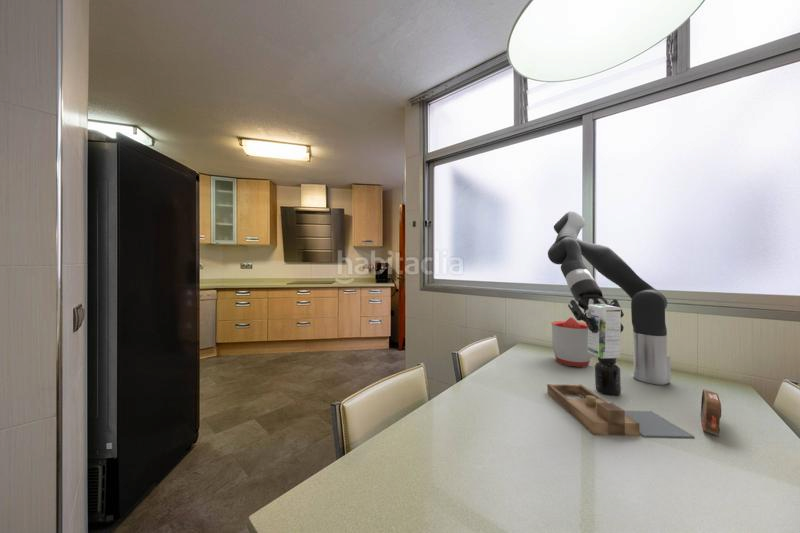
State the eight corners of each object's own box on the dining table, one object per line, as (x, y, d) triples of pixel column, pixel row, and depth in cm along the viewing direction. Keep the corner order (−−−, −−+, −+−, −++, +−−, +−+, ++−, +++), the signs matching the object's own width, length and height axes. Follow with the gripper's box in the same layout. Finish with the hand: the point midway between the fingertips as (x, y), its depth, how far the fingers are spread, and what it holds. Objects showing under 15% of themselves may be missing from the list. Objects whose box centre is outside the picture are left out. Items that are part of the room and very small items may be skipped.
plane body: (581, 393, 91) (581, 375, 91) (639, 435, 68) (639, 411, 68) (547, 393, 91) (547, 375, 91) (593, 434, 68) (593, 410, 68)
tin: (700, 414, 78) (699, 384, 78) (717, 418, 75) (716, 387, 76) (703, 437, 67) (702, 402, 67) (723, 442, 65) (722, 406, 65)
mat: (651, 412, 79) (651, 411, 79) (694, 437, 67) (694, 436, 67) (608, 411, 79) (608, 410, 79) (643, 436, 67) (643, 435, 67)
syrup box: (586, 352, 83) (586, 304, 82) (605, 351, 83) (605, 303, 83) (601, 359, 77) (601, 307, 76) (621, 358, 77) (621, 306, 77)
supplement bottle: (611, 388, 95) (611, 353, 95) (626, 397, 88) (625, 359, 88) (590, 387, 95) (590, 352, 96) (603, 396, 89) (602, 359, 89)
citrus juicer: (600, 372, 109) (599, 322, 110) (550, 365, 118) (550, 318, 119) (597, 361, 123) (596, 316, 123) (552, 355, 132) (552, 313, 132)
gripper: (600, 292, 92) (627, 338, 80) (555, 293, 93) (576, 338, 81) (611, 277, 86) (642, 324, 75) (564, 278, 87) (587, 324, 76)
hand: (607, 331), depth 78 cm, fingers closed on syrup box, 6 cm apart
